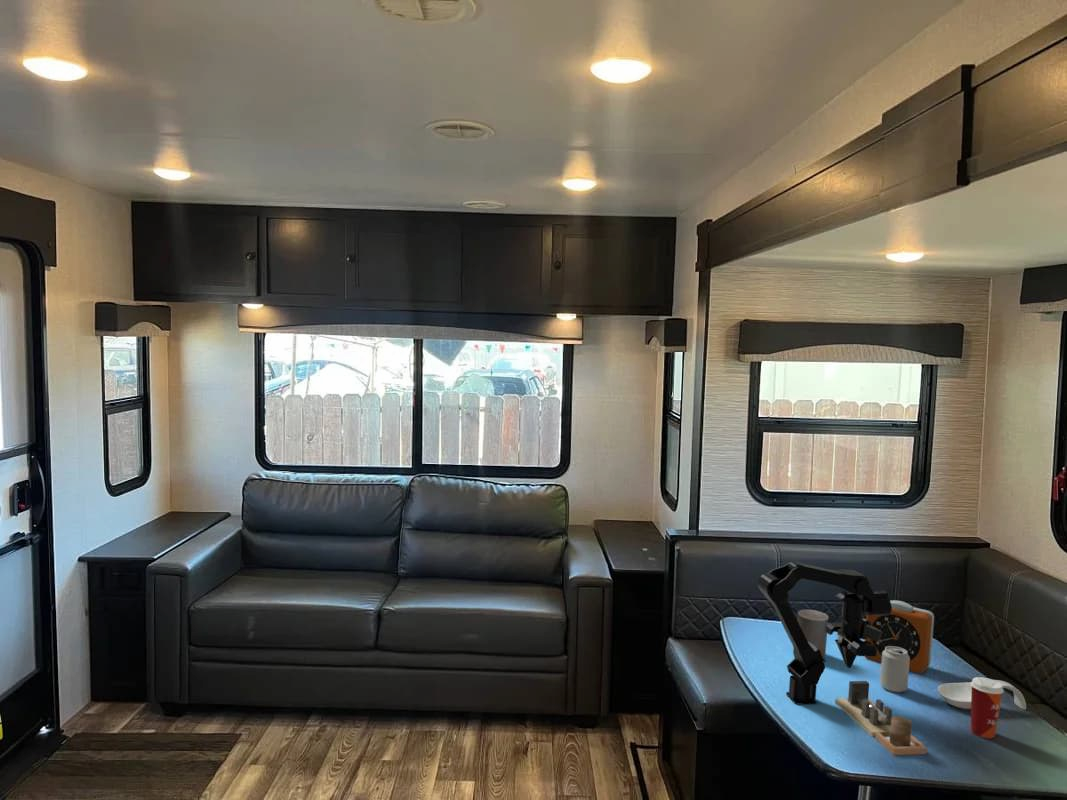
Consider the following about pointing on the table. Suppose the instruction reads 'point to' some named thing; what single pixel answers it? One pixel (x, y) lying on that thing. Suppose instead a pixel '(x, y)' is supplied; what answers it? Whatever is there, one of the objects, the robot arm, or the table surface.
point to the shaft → (863, 697)
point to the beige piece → (868, 715)
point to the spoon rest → (962, 694)
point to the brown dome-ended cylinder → (900, 731)
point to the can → (895, 669)
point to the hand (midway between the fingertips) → (848, 667)
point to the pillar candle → (814, 628)
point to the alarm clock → (905, 633)
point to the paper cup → (985, 706)
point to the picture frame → (902, 750)
